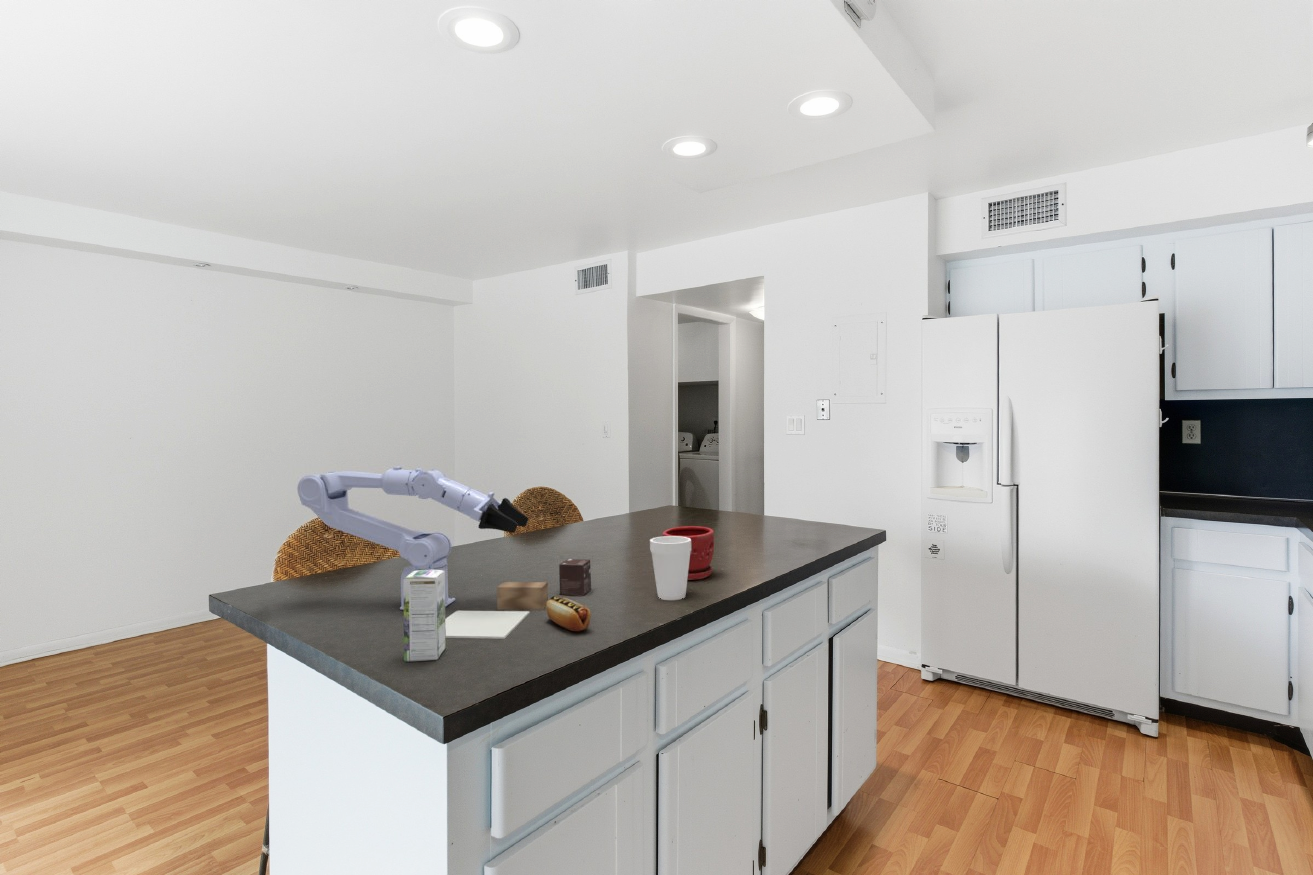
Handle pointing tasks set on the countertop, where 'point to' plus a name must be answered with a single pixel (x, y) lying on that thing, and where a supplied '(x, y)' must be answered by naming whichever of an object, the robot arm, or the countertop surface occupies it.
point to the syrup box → (424, 615)
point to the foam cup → (671, 565)
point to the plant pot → (697, 549)
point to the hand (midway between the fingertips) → (521, 525)
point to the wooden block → (522, 595)
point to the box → (575, 577)
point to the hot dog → (568, 613)
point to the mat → (483, 624)
